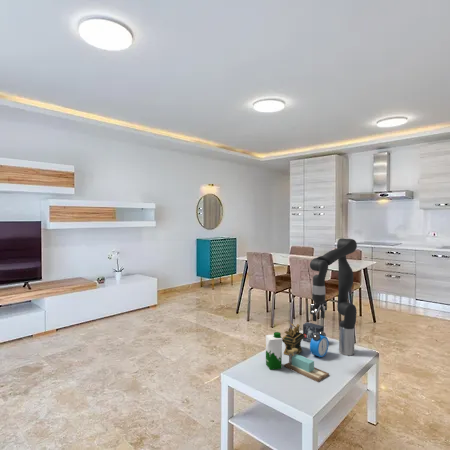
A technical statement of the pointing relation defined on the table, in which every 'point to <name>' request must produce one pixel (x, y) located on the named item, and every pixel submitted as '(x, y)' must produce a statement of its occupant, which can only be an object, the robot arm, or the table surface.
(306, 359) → the teal rectangular prism
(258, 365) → the table surface
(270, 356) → the milk carton
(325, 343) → the alarm clock
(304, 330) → the small box
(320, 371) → the board
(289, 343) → the decorative box
